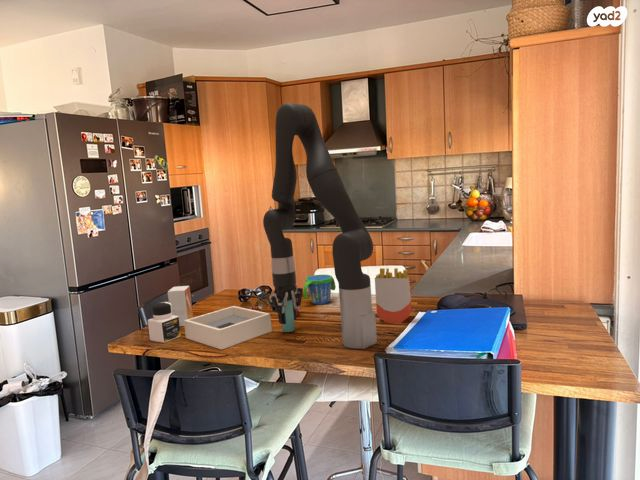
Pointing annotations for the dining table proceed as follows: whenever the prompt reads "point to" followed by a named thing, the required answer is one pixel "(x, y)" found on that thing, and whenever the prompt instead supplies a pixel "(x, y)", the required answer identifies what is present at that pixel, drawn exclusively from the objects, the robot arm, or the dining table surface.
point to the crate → (227, 326)
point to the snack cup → (319, 288)
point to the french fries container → (393, 295)
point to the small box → (181, 303)
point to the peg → (289, 317)
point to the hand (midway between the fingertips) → (288, 321)
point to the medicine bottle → (163, 323)
